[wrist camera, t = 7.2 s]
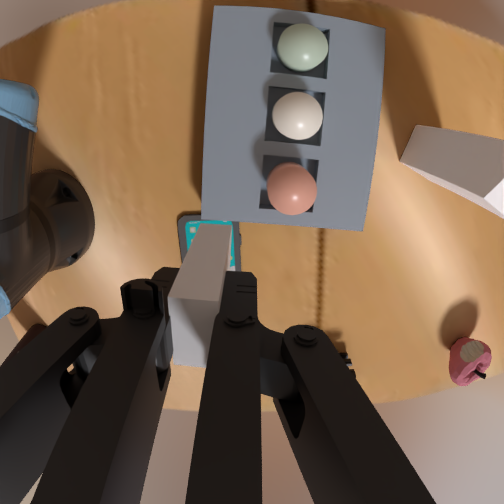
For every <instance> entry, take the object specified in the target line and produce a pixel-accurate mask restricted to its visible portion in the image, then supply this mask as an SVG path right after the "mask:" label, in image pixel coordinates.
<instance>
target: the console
mask: <svg viewBox="0 0 504 504" xmlns="http://www.w3.org/2000/svg"><path fill="white" fill-rule="evenodd" d="M301 23H303V24H309V25H312V26H314V27H316V28H318V29H319V30H320V31H321V32H322V33H323V34H324V36H325V37H326V39H327V42H328V53H327V55H326V57H325V59H324V60H323V61H322V62H321V63H320V64H318V65H317V66H316V67H314V68H313V69H311V70H309V71H306V72H294V71H291V70H289V69H287V68H285V67H284V66H283V65H282V64H281V63H280V61H279V60H278V57H277V53H276V49H277V45H278V42H279V39H280V36H281V34H282V33H283V31H284V30H285V29H286V28H288V27H289V26H291V25H294V24H301ZM384 56H385V28H381V27H378V26H374V25H370V24H366V23H362V22H357V21H353V20H348V19H344V18H339V17H333V16H328V15H322V14H316V13H309V12H302V11H295V10H286V9H276V8H265V7H249V6H214V12H213V22H212V32H211V43H210V54H209V66H208V79H207V94H206V109H205V127H204V147H203V171H202V204H201V219H204V220H221V221H237V222H252V223H266V224H280V225H293V226H306V227H318V228H330V229H342V230H353V231H363V227H364V222H365V217H366V211H367V205H368V200H369V194H370V188H371V181H372V175H373V168H374V161H375V154H376V146H377V138H378V129H379V120H380V110H381V100H382V88H383V74H384ZM292 92H303V93H306V94H309V95H310V96H312V97H313V98H315V99H316V100H317V102H318V103H319V105H320V106H321V109H322V113H323V120H322V124H321V126H320V128H319V130H318V131H317V132H316V133H315V134H314V135H313V136H311V137H309V138H307V139H303V140H295V139H291V138H288V137H286V136H285V135H283V134H281V133H280V132H279V131H278V130H277V129H276V128H275V126H274V125H273V122H272V118H271V113H272V108H273V106H274V104H275V103H276V102H277V101H278V100H279V99H280V98H282V97H283V96H284V95H286V94H289V93H292ZM283 162H295V163H297V164H300V165H301V166H303V167H304V168H305V169H306V170H307V171H308V172H309V173H310V175H311V176H312V177H313V178H314V180H315V182H316V186H317V196H316V199H315V201H314V203H313V205H312V206H311V207H310V208H309V209H308V210H307V211H305V212H303V213H301V214H297V215H287V214H283V213H281V212H279V211H278V210H276V209H275V208H274V207H273V205H272V204H271V202H270V200H269V197H268V192H267V186H266V181H267V177H268V174H269V172H270V171H271V170H272V169H273V168H274V167H275V166H276V165H278V164H280V163H283Z"/></svg>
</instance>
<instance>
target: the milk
mask: <svg viewBox="0 0 504 504" xmlns="http://www.w3.org/2000/svg"><path fill="white" fill-rule="evenodd" d="M400 162H401V163H402V164H404V165H406V166H407V167H409V168H411V169H412V170H414V171H415V172H417V173H419V174H420V175H422V176H423V177H425V178H426V179H428V180H430V181H431V182H434V183H436V184H438V185H440V186H442V187H444V188H446V189H448V190H450V191H452V192H454V193H456V194H458V195H460V196H462V197H464V198H466V199H468V200H470V201H472V202H474V203H476V204H478V205H480V206H482V207H483V208H485V209H487V210H489V211H491V212H492V213H494V214H496V215H498V216H500V217H501V218H503V219H504V140H501V139H497V138H492V137H487V136H483V135H478V134H472V133H467V132H462V131H456V130H450V129H444V128H437V127H430V126H423V125H416V126H415V128H414V130H413V132H412V135H411V137H410V139H409V141H408V144H407V146H406V148H405V150H404V152H403V154H402V157H401V159H400Z"/></svg>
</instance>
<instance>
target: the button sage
mask: <svg viewBox="0 0 504 504" xmlns="http://www.w3.org/2000/svg"><path fill="white" fill-rule="evenodd" d="M276 53H277V57H278V60H279V61H280V63H281V64H282V65H283V66H284V67H285V68H287V69H289V70H291V71H294V72H306V71H309V70H311V69H313V68H314V67H316V66H317V65H318V64H320V63H321V62H322V61H323V60H324V59H325V57H326V55H327V53H328V42H327V39H326V37H325V36H324V34H323V33H322V32H321V31H320V30H319V29H318V28H316V27H314V26H312V25H309V24H303V23H301V24H294V25H291V26H289V27H288V28H286V29H285V30H284V31H283V33H282V34H281V36H280V39H279V42H278V45H277V49H276Z"/></svg>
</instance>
